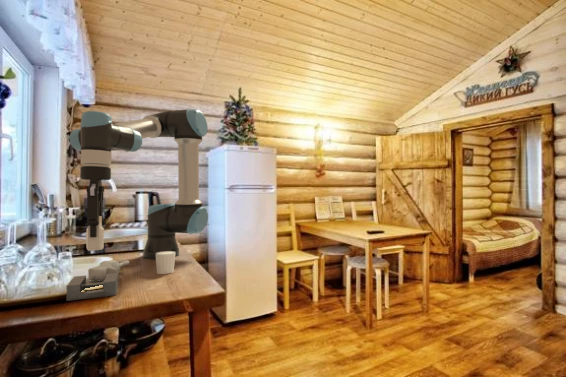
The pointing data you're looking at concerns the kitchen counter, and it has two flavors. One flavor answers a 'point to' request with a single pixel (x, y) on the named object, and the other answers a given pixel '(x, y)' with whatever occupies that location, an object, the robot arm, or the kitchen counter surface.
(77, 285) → the socket mount
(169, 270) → the white cup
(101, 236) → the pepper shaker
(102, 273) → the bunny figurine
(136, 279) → the kitchen counter surface
